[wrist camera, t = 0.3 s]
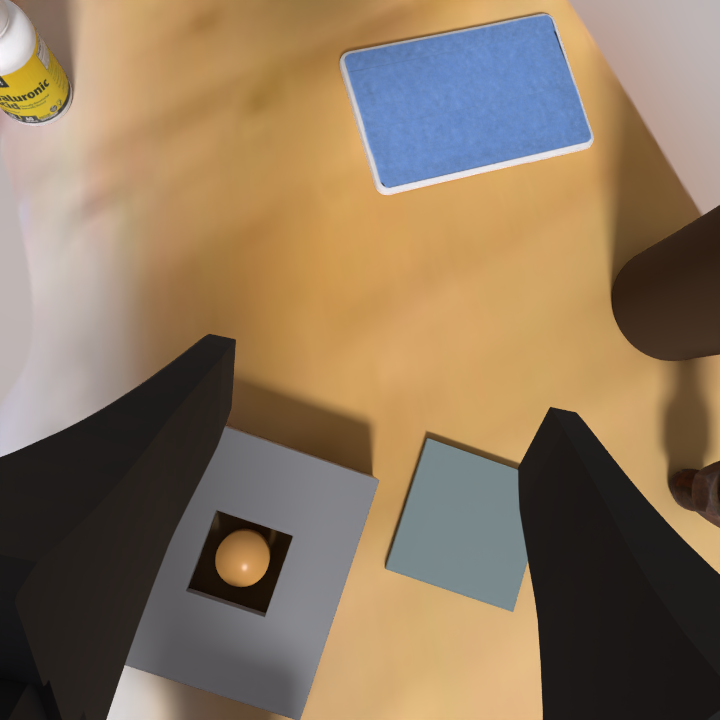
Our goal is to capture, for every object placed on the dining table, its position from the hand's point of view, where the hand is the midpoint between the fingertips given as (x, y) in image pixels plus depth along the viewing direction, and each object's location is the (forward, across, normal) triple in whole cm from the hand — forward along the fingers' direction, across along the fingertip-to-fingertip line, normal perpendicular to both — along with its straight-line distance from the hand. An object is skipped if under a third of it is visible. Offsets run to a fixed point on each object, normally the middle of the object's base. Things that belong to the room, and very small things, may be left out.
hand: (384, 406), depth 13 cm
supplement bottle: (+35, +29, +6) cm, 45 cm away
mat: (+18, -11, +25) cm, 33 cm away
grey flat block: (+14, +5, +28) cm, 32 cm away
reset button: (+13, +5, +27) cm, 31 cm away
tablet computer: (+42, -4, +2) cm, 42 cm away
